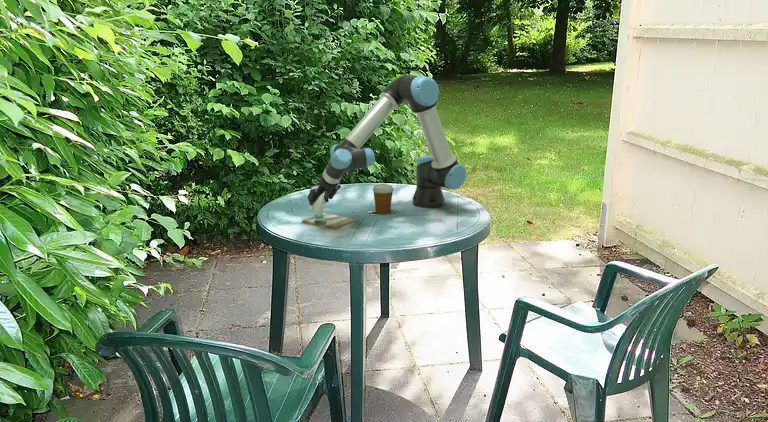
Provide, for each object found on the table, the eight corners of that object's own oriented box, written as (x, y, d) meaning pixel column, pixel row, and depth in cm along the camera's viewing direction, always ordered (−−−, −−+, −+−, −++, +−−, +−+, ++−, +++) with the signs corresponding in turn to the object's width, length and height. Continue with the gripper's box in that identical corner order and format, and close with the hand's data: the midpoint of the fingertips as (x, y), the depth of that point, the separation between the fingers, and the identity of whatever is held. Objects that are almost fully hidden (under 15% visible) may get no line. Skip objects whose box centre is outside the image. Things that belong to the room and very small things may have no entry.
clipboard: (356, 220, 268) (356, 216, 267) (335, 229, 256) (335, 225, 255) (324, 214, 277) (323, 210, 277) (302, 222, 265) (301, 218, 265)
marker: (325, 217, 268) (324, 187, 265) (319, 219, 265) (318, 189, 262) (318, 215, 270) (317, 186, 267) (312, 217, 267) (311, 188, 264)
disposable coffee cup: (391, 215, 275) (391, 189, 272) (370, 214, 277) (370, 188, 274) (395, 210, 284) (395, 184, 281) (375, 208, 286) (374, 183, 283)
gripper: (315, 187, 246) (300, 217, 264) (352, 182, 255) (334, 211, 273) (309, 172, 249) (294, 202, 267) (346, 167, 258) (328, 197, 276)
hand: (314, 207), depth 270 cm, fingers closed on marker, 3 cm apart
